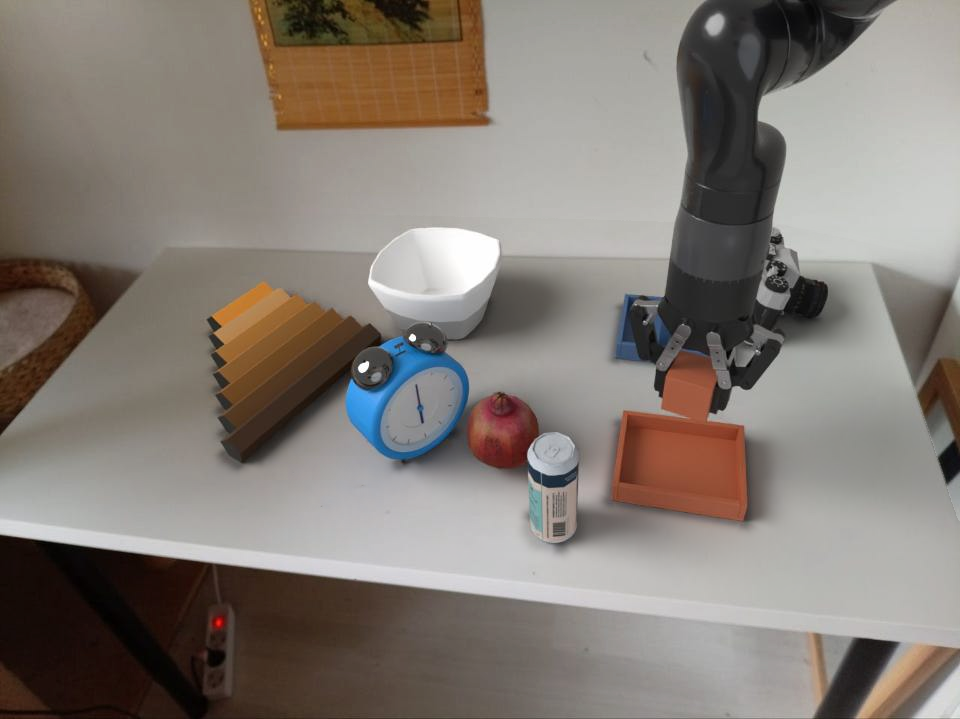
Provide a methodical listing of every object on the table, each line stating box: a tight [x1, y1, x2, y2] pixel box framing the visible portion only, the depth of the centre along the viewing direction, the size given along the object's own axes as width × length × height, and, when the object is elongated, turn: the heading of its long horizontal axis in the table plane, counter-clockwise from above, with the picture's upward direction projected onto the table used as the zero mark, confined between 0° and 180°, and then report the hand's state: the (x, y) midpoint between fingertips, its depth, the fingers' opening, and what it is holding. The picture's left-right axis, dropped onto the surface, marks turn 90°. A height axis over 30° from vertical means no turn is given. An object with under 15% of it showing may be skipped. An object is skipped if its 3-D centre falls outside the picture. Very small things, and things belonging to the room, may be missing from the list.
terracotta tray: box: [611, 409, 749, 522], centre depth 74 cm, size 13×11×2 cm
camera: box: [742, 226, 829, 346], centre depth 90 cm, size 15×11×10 cm
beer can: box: [527, 431, 580, 544], centre depth 66 cm, size 5×5×12 cm
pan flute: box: [206, 280, 382, 464], centre depth 92 cm, size 25×3×25 cm
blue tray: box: [615, 293, 711, 363], centre depth 91 cm, size 13×11×2 cm
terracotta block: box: [660, 350, 717, 423], centre depth 66 cm, size 4×4×4 cm
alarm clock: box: [345, 322, 470, 464], centre depth 76 cm, size 13×6×15 cm, turn 129°
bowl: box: [367, 226, 503, 340], centre depth 96 cm, size 18×18×9 cm
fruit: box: [465, 391, 541, 470], centre depth 74 cm, size 8×8×10 cm
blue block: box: [652, 299, 671, 346], centre depth 90 cm, size 4×4×4 cm
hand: (690, 399), depth 67 cm, fingers closed on terracotta block, 4 cm apart
